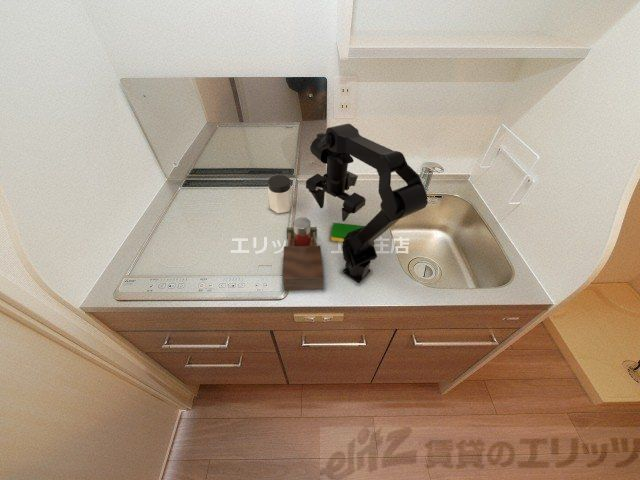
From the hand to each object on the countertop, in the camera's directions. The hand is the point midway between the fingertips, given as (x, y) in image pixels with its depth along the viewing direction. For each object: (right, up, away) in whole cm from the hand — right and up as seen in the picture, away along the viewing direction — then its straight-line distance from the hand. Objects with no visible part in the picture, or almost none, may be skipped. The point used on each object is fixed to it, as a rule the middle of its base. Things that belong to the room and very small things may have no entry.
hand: (332, 214), depth 86 cm
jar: (-19, +5, +21) cm, 29 cm away
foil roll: (-10, -10, +4) cm, 15 cm away
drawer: (-10, -9, +6) cm, 15 cm away
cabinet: (-9, -19, -2) cm, 21 cm away
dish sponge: (+7, -7, +11) cm, 15 cm away
